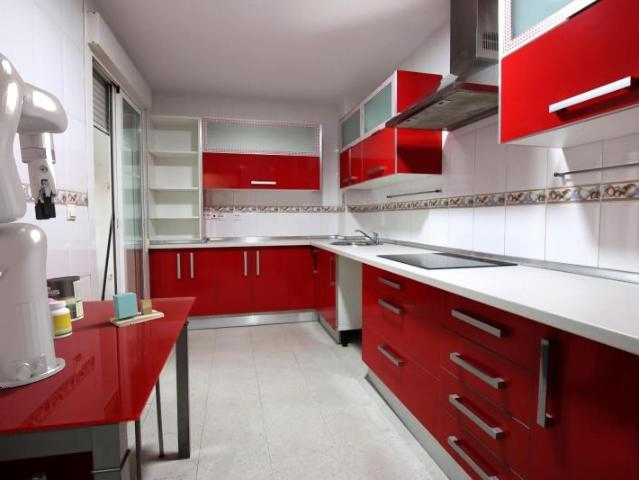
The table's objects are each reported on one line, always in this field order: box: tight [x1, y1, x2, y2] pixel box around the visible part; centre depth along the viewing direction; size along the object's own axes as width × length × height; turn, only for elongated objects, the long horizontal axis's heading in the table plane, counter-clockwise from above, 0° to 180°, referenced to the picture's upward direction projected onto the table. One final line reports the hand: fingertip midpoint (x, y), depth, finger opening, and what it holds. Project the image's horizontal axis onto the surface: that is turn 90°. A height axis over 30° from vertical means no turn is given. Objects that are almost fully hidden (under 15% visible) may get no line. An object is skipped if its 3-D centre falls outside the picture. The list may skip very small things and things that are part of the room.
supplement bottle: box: [49, 301, 73, 340], centre depth 101 cm, size 5×5×10 cm
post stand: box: [109, 298, 165, 328], centre depth 114 cm, size 10×13×8 cm
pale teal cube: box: [112, 291, 139, 318], centre depth 112 cm, size 5×5×7 cm
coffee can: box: [46, 275, 85, 323], centre depth 120 cm, size 10×10×14 cm
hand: (45, 218), depth 101 cm, fingers open, 9 cm apart
